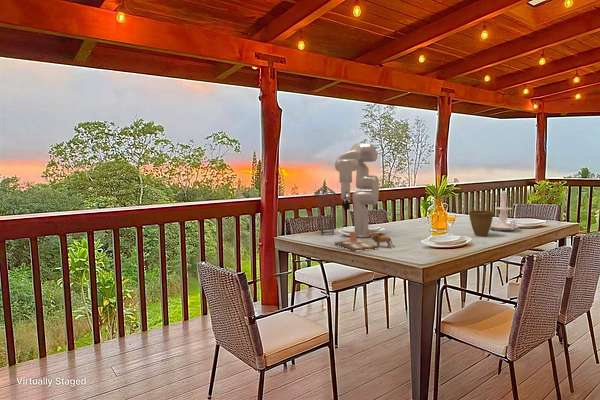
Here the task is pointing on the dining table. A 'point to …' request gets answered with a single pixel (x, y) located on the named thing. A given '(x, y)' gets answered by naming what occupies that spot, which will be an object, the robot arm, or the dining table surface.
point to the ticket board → (356, 246)
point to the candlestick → (504, 216)
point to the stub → (353, 239)
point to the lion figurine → (381, 239)
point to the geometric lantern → (325, 205)
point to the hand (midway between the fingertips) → (346, 208)
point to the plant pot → (481, 222)
